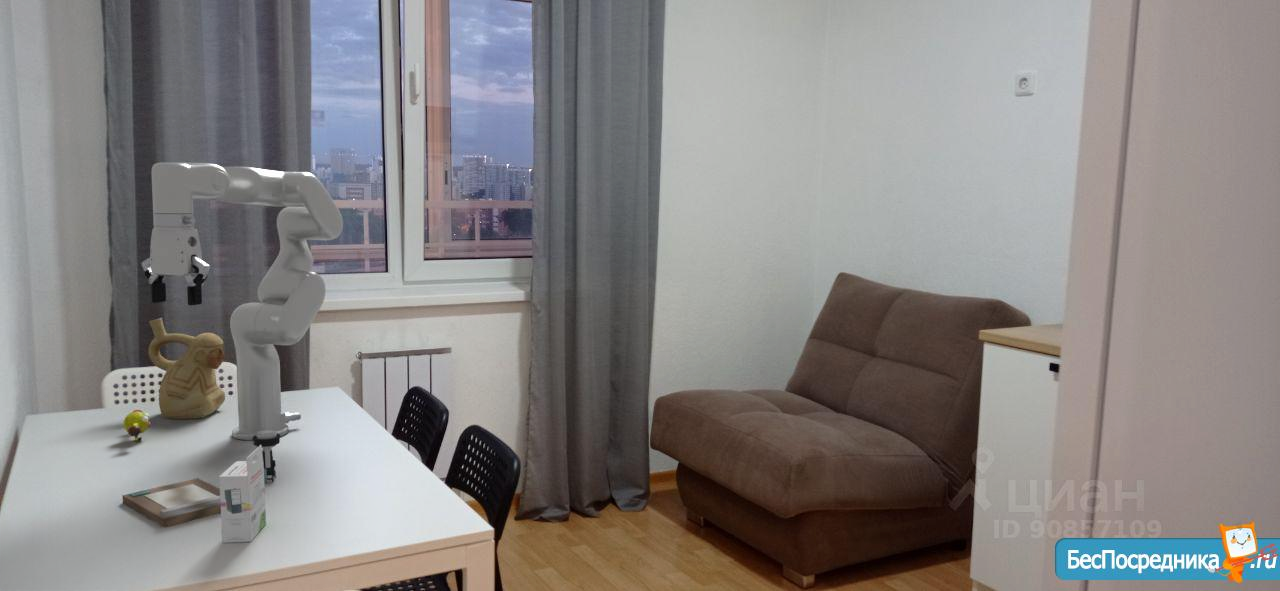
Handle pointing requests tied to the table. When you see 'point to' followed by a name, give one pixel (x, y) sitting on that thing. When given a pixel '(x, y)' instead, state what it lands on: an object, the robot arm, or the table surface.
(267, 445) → the push button
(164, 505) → the brown flat wooden tray
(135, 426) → the toy figure
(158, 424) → the table surface
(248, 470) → the ink box
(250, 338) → the robot arm
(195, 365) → the ceramic vessel
